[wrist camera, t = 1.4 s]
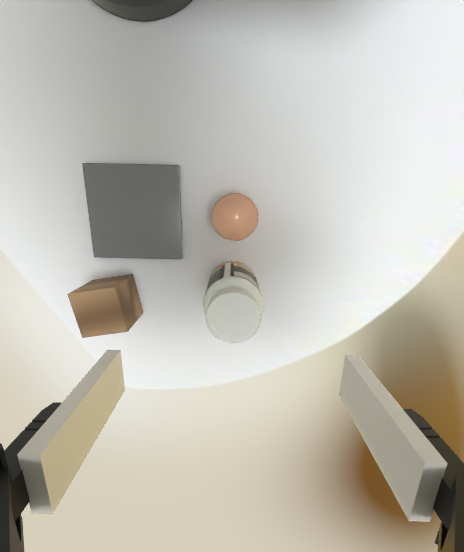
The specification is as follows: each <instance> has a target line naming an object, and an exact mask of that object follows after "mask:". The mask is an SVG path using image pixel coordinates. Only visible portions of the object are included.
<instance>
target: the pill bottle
mask: <svg viewBox="0 0 464 552" xmlns="http://www.w3.org/2000/svg"><path fill="white" fill-rule="evenodd" d="M203 306H204V312H205V315H206V322H207V326H208V328H209V330H210V331H211V333H212V334H213V335H214V336H215V337H217V338H218V339H220V340H222V341H225V342H229V343H238V342H242V341H245V340H247V339H249V338H250V337H252V336H253V335H254V334H255V332H256V331H257V330H258V328H259V326H260V322H261V315H262V312H263V298H262V295H261V292H260V290H259V286H258V283H257V280H256V277H255V275H254V273H253V272H252V271H251V269H250V268H248V267H247V266H246V265H244V264H241V263H237V262H228V263H225V264H222V265H220V266H219V267H218V268H216V269H215V270H214V272H213V273H212V275H211V277H210V280H209V283H208V286H207V290H206V293H205V296H204V302H203Z"/></svg>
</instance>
